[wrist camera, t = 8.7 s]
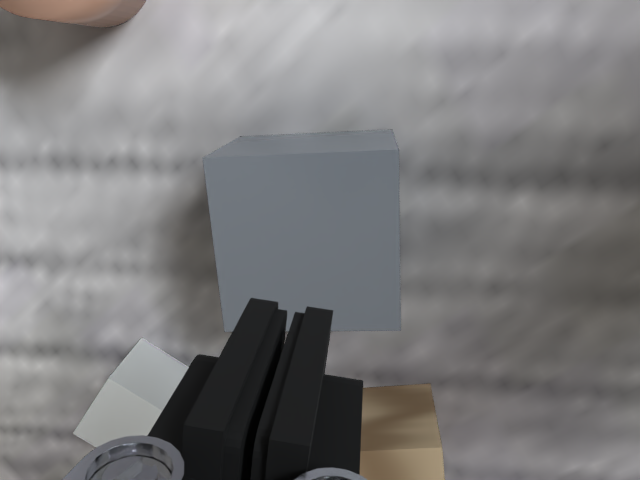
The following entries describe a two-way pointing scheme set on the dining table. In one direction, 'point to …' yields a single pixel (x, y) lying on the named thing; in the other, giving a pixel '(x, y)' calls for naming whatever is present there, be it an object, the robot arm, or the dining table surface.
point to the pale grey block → (132, 396)
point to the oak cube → (400, 434)
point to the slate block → (308, 225)
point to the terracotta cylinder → (76, 10)
